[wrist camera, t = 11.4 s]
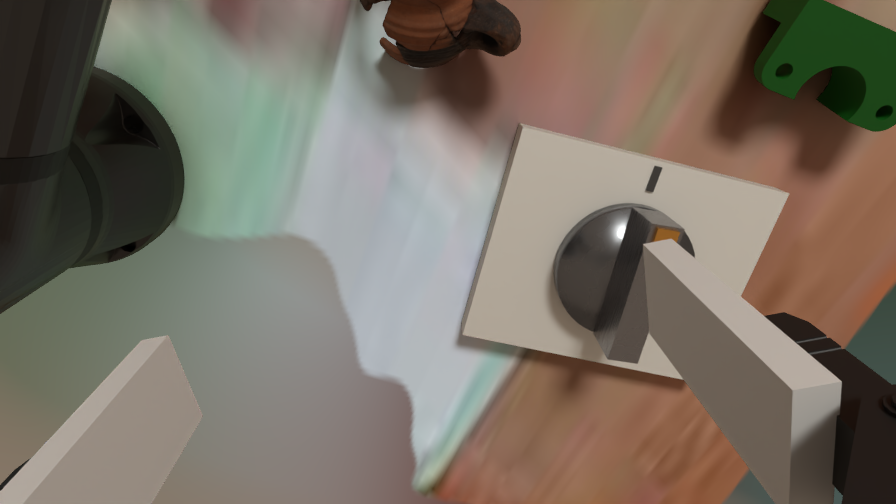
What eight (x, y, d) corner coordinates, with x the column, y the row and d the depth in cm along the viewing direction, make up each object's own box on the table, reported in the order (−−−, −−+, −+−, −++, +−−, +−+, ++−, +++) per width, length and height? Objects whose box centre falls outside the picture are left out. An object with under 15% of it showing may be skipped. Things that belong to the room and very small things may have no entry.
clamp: (730, 56, 47) (729, 71, 40) (777, -18, 44) (785, -17, 36) (872, 123, 45) (900, 152, 37) (933, 50, 42) (976, 66, 34)
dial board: (461, 323, 50) (462, 335, 48) (519, 123, 44) (523, 127, 42) (690, 370, 53) (700, 384, 51) (774, 187, 47) (790, 194, 45)
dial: (663, 336, 49) (692, 373, 43) (539, 317, 48) (553, 353, 42) (706, 215, 45) (744, 240, 39) (573, 192, 44) (593, 214, 38)
